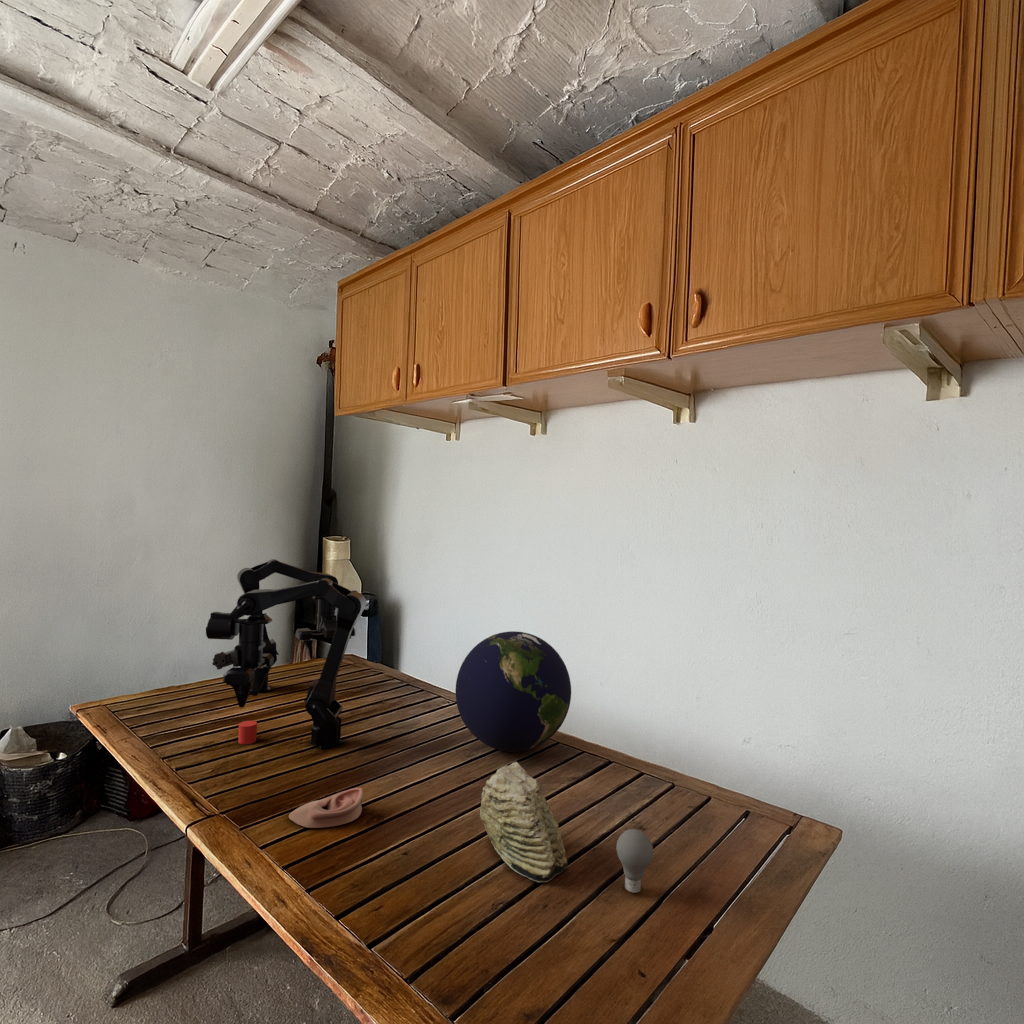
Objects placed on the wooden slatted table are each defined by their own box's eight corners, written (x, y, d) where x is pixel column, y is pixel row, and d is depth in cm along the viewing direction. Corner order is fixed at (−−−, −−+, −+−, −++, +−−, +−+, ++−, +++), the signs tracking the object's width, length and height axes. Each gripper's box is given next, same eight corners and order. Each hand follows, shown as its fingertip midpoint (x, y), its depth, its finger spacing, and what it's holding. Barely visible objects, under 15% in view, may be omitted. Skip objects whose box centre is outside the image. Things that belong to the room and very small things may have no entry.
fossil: (501, 827, 124) (504, 751, 124) (575, 868, 111) (578, 784, 111) (467, 843, 118) (470, 763, 118) (541, 889, 105) (545, 799, 105)
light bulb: (610, 879, 108) (613, 822, 108) (644, 879, 109) (647, 822, 109) (619, 902, 102) (622, 840, 102) (655, 901, 103) (658, 840, 103)
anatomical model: (280, 803, 122) (311, 778, 133) (279, 823, 122) (310, 796, 133) (344, 813, 119) (370, 786, 130) (343, 834, 119) (369, 805, 130)
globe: (499, 719, 185) (504, 617, 185) (589, 746, 168) (594, 633, 167) (428, 749, 161) (433, 631, 160) (525, 784, 144) (531, 652, 143)
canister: (247, 745, 159) (247, 727, 159) (234, 742, 160) (235, 724, 160) (260, 739, 163) (260, 722, 163) (247, 736, 164) (248, 719, 164)
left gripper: (305, 617, 201) (303, 666, 202) (361, 614, 212) (359, 660, 212) (296, 611, 211) (294, 658, 211) (350, 608, 221) (349, 653, 221)
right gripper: (233, 631, 170) (231, 689, 170) (202, 647, 151) (199, 712, 152) (275, 632, 171) (273, 690, 171) (249, 649, 152) (247, 713, 152)
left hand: (325, 657), depth 214 cm, fingers open, 9 cm apart
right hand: (248, 701), depth 161 cm, fingers open, 9 cm apart
